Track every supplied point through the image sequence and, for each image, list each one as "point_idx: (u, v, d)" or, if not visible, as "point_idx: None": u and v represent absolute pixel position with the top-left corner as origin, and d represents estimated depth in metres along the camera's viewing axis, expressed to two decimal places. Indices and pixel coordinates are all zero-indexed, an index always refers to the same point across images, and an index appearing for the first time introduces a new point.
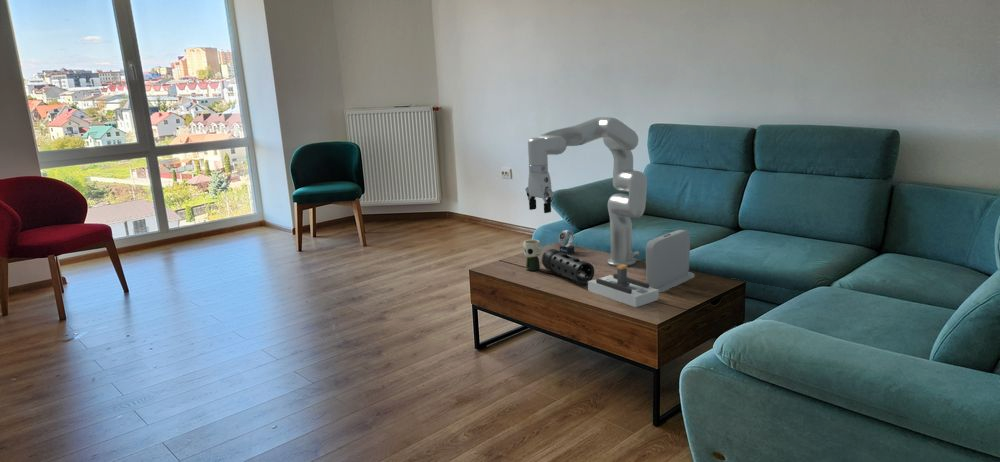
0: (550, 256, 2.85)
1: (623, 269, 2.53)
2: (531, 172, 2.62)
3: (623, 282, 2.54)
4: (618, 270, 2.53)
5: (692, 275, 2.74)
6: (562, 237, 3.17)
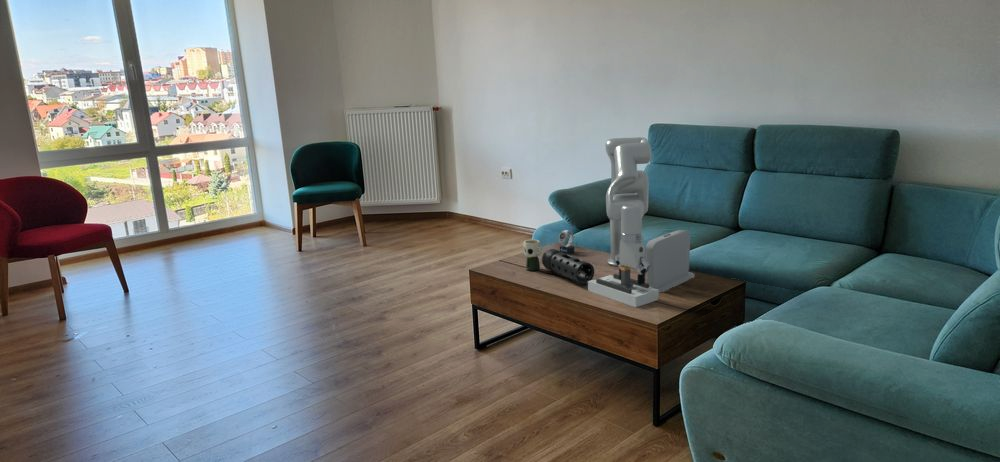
0: (550, 256, 2.85)
1: (627, 270, 2.51)
2: (624, 241, 2.45)
3: (627, 283, 2.53)
4: (622, 271, 2.52)
5: (692, 275, 2.74)
6: (562, 237, 3.17)
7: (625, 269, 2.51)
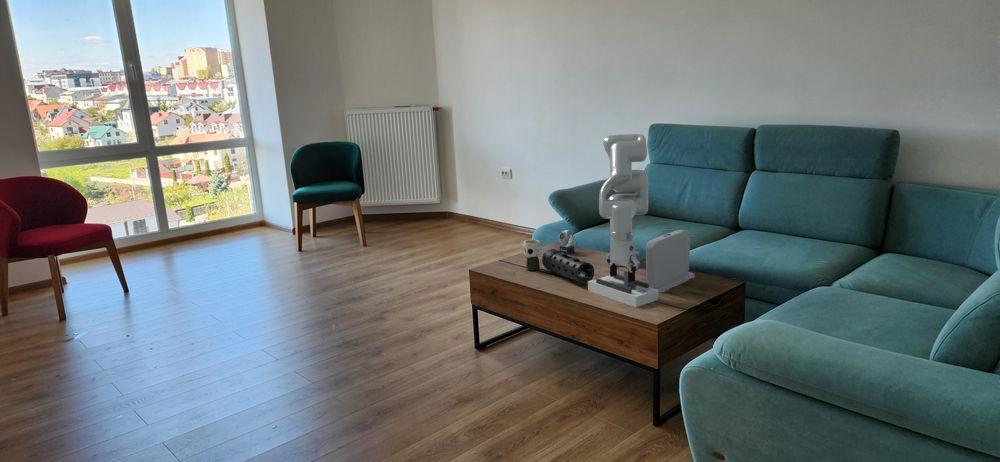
0: (550, 256, 2.85)
1: None
2: (615, 240, 2.49)
3: (630, 284, 2.51)
4: (625, 272, 2.51)
5: (692, 275, 2.74)
6: (562, 237, 3.17)
7: (628, 270, 2.49)
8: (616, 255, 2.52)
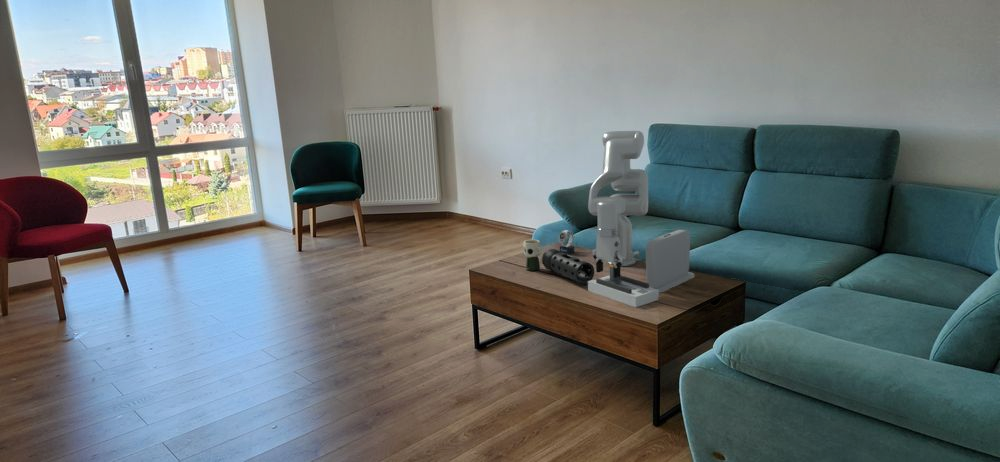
0: (550, 256, 2.85)
1: None
2: (600, 236, 2.55)
3: (615, 280, 2.58)
4: (610, 268, 2.57)
5: (692, 275, 2.74)
6: (562, 237, 3.17)
7: None
8: (602, 251, 2.58)
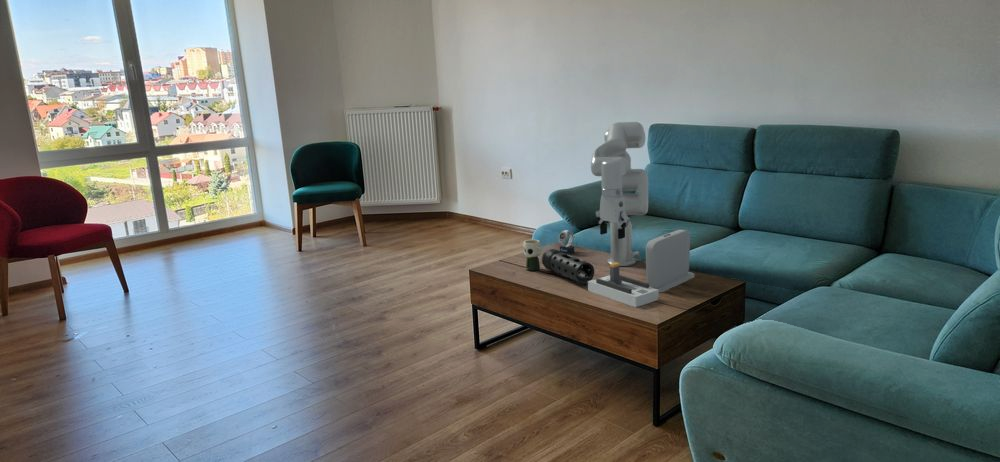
0: (550, 256, 2.85)
1: (616, 266, 2.56)
2: (605, 196, 2.49)
3: (616, 280, 2.57)
4: (611, 268, 2.57)
5: (692, 275, 2.74)
6: (562, 237, 3.17)
7: (614, 266, 2.56)
8: (606, 212, 2.52)
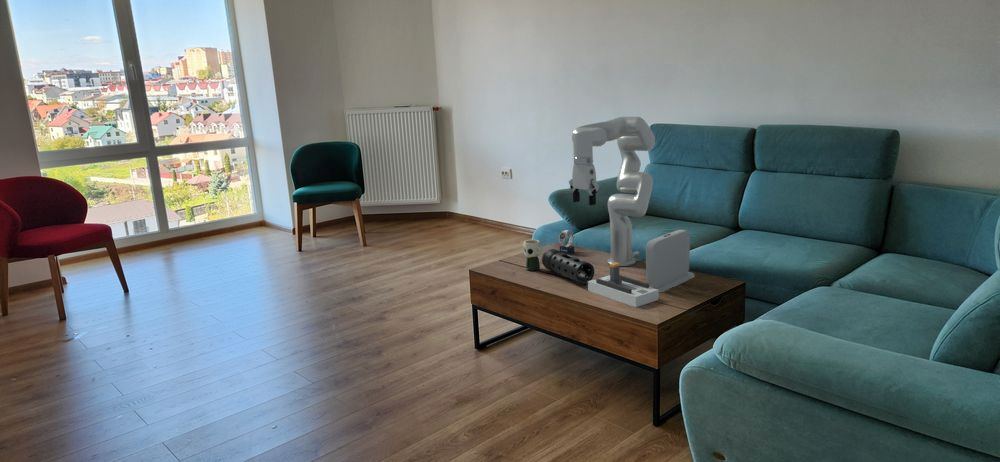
0: (550, 256, 2.85)
1: (616, 266, 2.56)
2: (576, 164, 2.61)
3: (616, 280, 2.57)
4: (611, 268, 2.57)
5: (692, 275, 2.74)
6: (562, 237, 3.17)
7: (614, 266, 2.56)
8: (578, 180, 2.64)
